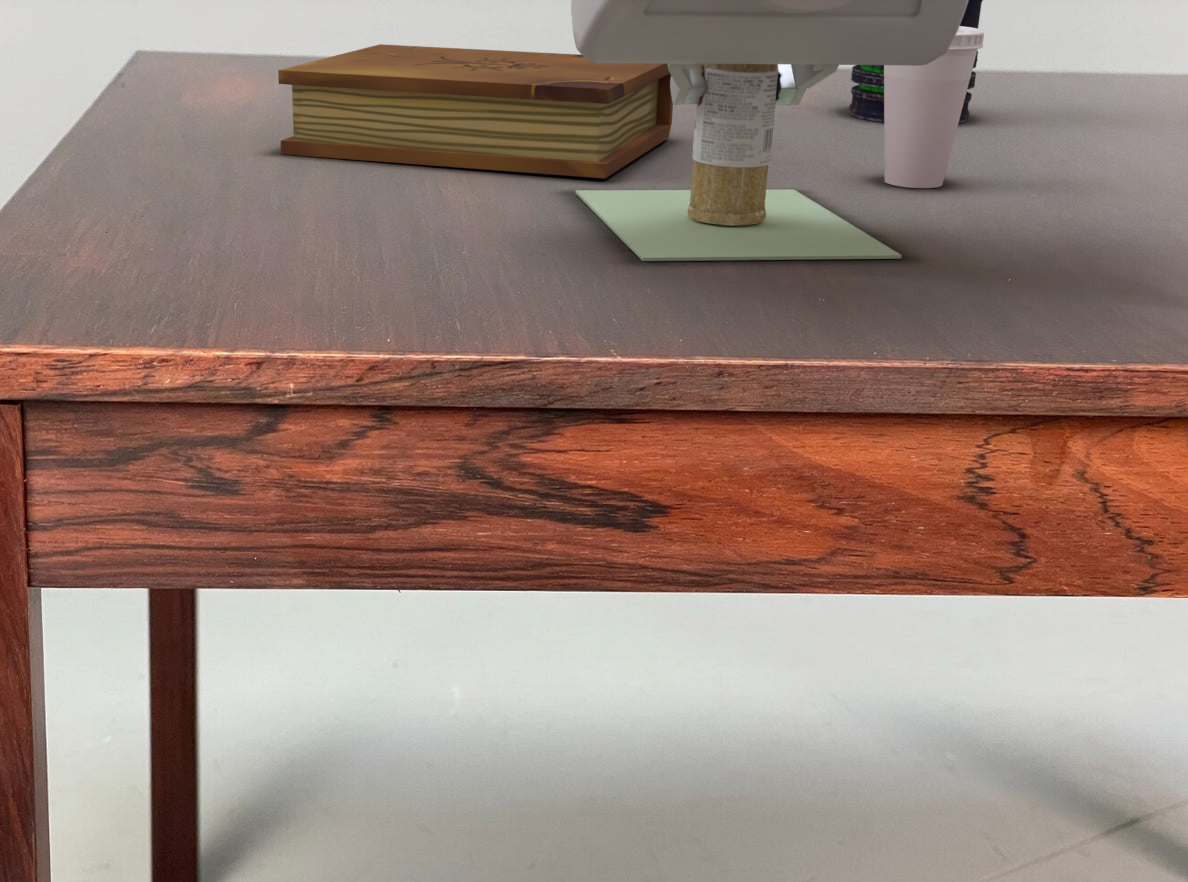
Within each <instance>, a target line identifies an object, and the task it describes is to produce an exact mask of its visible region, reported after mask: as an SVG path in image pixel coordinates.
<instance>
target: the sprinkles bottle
mask: <svg viewBox="0 0 1188 882" xmlns="http://www.w3.org/2000/svg"><path fill="white" fill-rule="evenodd" d="M702 66H703V74H702V76H703V77H704V79H705V85H706V89H705V92H704V94H703V96H702V97H701V102H700V104H696V106H695V114H694V127H693V138H692V139H693V140H692V153H691V154H692V156H691V157H692V172H691V173H692V174H691V185H690V190H691V197H690V204H689V206H688V215H689V217H690V218H692V219H694V220H696V221H699V222H704V223H710V224H716V225H724V226H745V225H752V224H757V223H760V222H761V221H763V220H764V219H765V217H766V210H765V198H766V190H767V183H768V173H769V166H770V164H771V156H772V146H773V145H772V144H773V134H774V126H775V125H774V124H775V112H776V105H775V103H776V92H777V81H778V64H702Z"/></svg>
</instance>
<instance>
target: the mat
mask: <svg viewBox="0 0 1188 882" xmlns="http://www.w3.org/2000/svg"><path fill="white" fill-rule="evenodd" d="M575 195H576V196H577V197H578V198H579V199H580V200H581V201H582V202H583V203H584V204H585V205H586V206H587V207H588V208H590V210H591V211H592V212H593V213H594V214H595V215H596V216H597V218H599V219H600V220H601V221H602V222H603V223H604V224H605V225H606V226H607V227H608V228H609V229H610V230H611V231H612V232H613V233H614V234H615V235H616V236H617V237H618V238H619V239H620V240H621V241H622V242H623V243H624V244H625V245H626V246H627V247H628V248H629V249H630V250H631V251H632V252H633V253H634V254H635V256H637V257H638V258H639V259H640V260H641V262H693V261H694V262H695V261H699V262H700V261H705V262H706V261H707V262H708V261H709V262H710V261H797V260H798V261H800V260H801V261H802V260H803V261H804V260H805V261H806V260H807V261H808V260H813V261H815V260H894V259H895V260H898V259H899V260H901V259H902V254H900V253H899V252H898V251H895V250H894V249H892V248H891V247H889V246H888V245H886V244H884V243H882V242H881V241H879V240H878V239H876V238H874V237H872V236H871V235H869V234H868V233H866V232H865V231H864V230H861V229H859V227H856V226H854V225H853V224H851V222H848V221H846V220H845V219H843V218H842V217H840V216H838V215H837V214H835V213H833V211H831V210H829V209H827V208H825V207H823V206H822V205H820V204H819V203H817V202H815V201H814V200H812V199H810V198H808V197H807V196H806V195H804V194H802V193H800V192H799V191H797V190H796V189H766V198H765V210H766V217H765V219H764V220H763V221H761V222H760V223H757V224H752V225H745V226H724V225H716V224H710V223H704V222H699V221H696V220H694V219H692V218H690V217H689V215H688V206H689V204H690V197H691V189H599V190H597V189H591V190H590V189H589V190H588V189H585V190H583V189H581V190H579V189H577V190H575Z"/></svg>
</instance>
